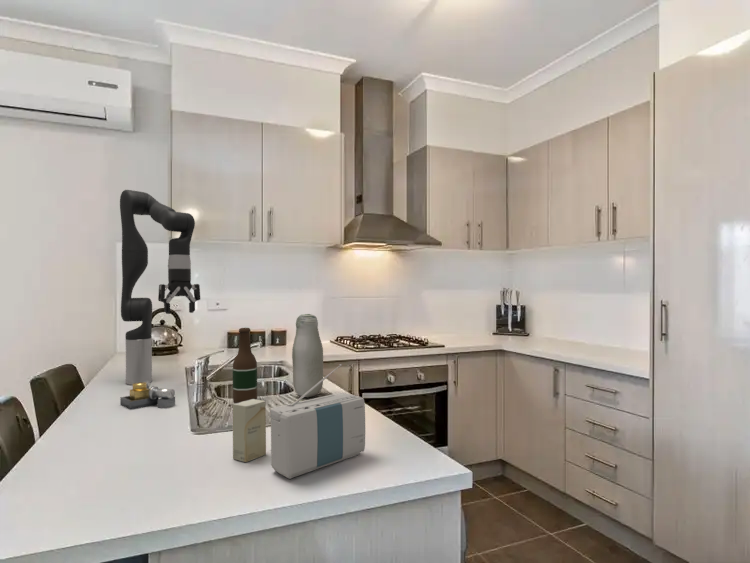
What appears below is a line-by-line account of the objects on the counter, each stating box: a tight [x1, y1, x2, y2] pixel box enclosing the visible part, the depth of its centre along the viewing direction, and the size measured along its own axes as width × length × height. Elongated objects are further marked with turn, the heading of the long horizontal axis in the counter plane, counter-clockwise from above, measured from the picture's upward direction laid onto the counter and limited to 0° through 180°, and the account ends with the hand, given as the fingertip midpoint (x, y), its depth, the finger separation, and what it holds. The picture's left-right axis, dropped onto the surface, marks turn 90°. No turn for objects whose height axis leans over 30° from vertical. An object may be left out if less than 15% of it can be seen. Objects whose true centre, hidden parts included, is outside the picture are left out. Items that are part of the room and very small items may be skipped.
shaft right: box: [149, 385, 176, 409], centre depth 152 cm, size 7×4×6 cm, turn 76°
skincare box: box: [232, 399, 267, 463], centre depth 107 cm, size 6×4×12 cm
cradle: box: [119, 395, 160, 411], centre depth 154 cm, size 9×9×2 cm
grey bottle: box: [291, 313, 324, 398], centre depth 163 cm, size 10×10×28 cm
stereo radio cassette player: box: [269, 363, 366, 480], centre depth 103 cm, size 21×8×20 cm, turn 135°
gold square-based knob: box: [129, 382, 150, 401], centre depth 154 cm, size 4×4×6 cm
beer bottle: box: [232, 327, 258, 404], centre depth 157 cm, size 8×8×24 cm
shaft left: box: [143, 380, 152, 389], centre depth 163 cm, size 7×4×6 cm, turn 16°
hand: (179, 313), depth 172 cm, fingers open, 8 cm apart
